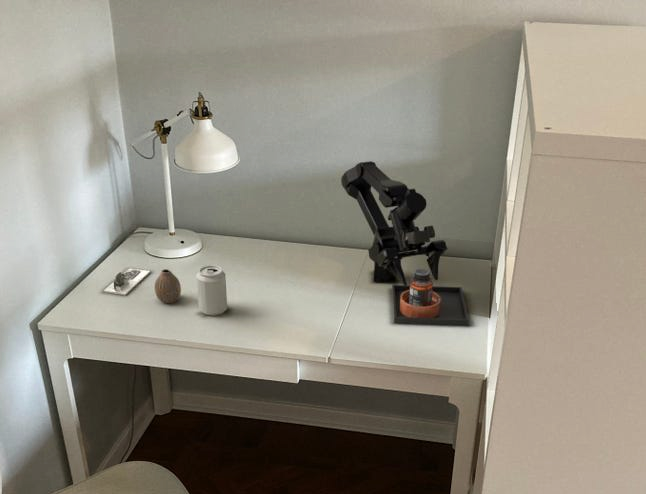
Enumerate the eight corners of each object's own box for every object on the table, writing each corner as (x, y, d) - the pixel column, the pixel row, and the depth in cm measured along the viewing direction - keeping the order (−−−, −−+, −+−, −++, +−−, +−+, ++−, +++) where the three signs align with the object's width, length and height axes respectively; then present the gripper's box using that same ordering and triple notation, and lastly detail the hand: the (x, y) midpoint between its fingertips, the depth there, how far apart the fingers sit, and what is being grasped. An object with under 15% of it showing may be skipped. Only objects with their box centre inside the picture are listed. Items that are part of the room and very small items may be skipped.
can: (232, 306, 213) (230, 266, 207) (219, 319, 207) (217, 277, 201) (207, 301, 215) (204, 261, 209) (194, 314, 209) (190, 273, 203)
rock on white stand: (125, 295, 218) (123, 280, 215) (103, 292, 219) (101, 277, 217) (150, 272, 230) (148, 258, 228) (129, 269, 231) (127, 255, 229)
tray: (393, 323, 207) (394, 317, 206) (392, 290, 223) (392, 284, 222) (468, 325, 207) (468, 320, 206) (460, 292, 223) (461, 287, 222)
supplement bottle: (430, 305, 215) (434, 267, 209) (430, 315, 210) (434, 277, 204) (408, 304, 216) (411, 266, 210) (408, 314, 211) (411, 275, 205)
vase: (186, 297, 217) (184, 268, 212) (172, 308, 212) (169, 278, 207) (165, 292, 220) (162, 263, 215) (151, 302, 214) (147, 273, 210)
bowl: (400, 320, 209) (401, 306, 207) (398, 301, 218) (399, 288, 216) (440, 321, 208) (442, 307, 206) (437, 302, 217) (439, 289, 215)
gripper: (383, 220, 201) (400, 277, 198) (447, 211, 207) (465, 266, 205) (369, 238, 211) (385, 292, 209) (430, 228, 218) (447, 281, 215)
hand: (421, 282), depth 209 cm, fingers open, 9 cm apart
